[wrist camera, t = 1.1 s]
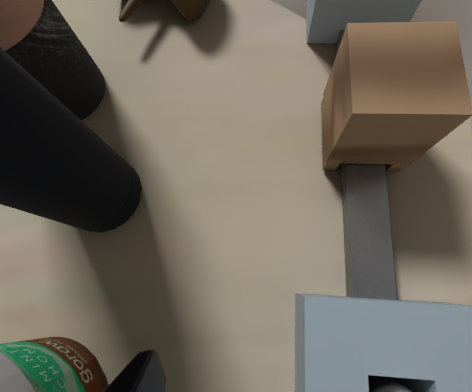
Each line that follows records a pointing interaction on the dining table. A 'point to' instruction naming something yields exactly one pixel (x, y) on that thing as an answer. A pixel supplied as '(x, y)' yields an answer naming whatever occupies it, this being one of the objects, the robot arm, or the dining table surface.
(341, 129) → the block
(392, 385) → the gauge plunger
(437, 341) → the cabinet
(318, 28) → the end block
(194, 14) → the kendama
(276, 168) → the dining table surface
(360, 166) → the rail
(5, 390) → the food container
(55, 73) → the travel mug
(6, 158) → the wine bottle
